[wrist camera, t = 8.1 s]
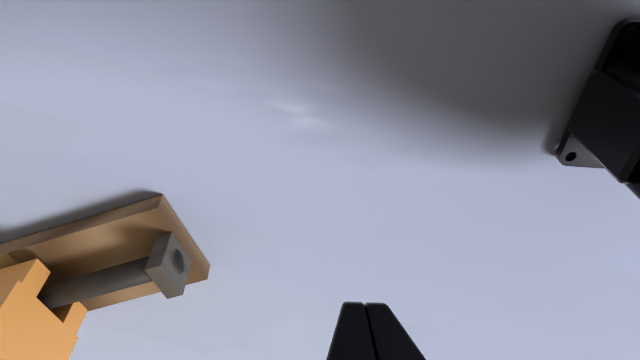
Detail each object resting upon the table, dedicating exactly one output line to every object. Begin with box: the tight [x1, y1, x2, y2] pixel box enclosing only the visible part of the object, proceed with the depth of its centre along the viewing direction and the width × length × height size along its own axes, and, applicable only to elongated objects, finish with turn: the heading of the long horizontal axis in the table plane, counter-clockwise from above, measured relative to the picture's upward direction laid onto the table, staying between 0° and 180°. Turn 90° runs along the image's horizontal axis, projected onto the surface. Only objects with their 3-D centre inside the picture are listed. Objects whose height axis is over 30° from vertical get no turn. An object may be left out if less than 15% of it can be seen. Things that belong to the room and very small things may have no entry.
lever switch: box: [0, 195, 210, 311], centre depth 22 cm, size 12×5×5 cm, turn 108°
